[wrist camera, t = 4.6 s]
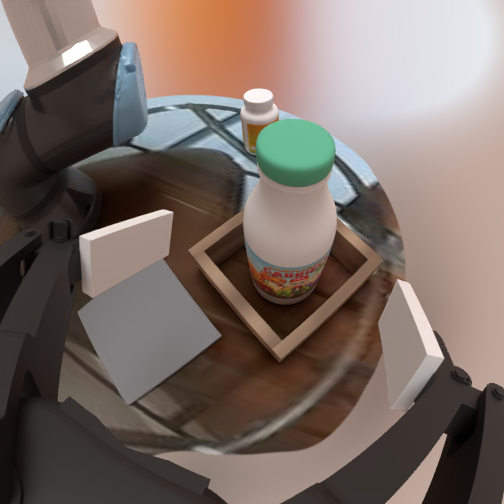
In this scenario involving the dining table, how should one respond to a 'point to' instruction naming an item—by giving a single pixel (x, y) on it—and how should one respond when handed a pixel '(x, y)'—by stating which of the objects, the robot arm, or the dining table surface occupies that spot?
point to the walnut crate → (212, 255)
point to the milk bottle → (290, 210)
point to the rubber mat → (146, 329)
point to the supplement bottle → (257, 116)
